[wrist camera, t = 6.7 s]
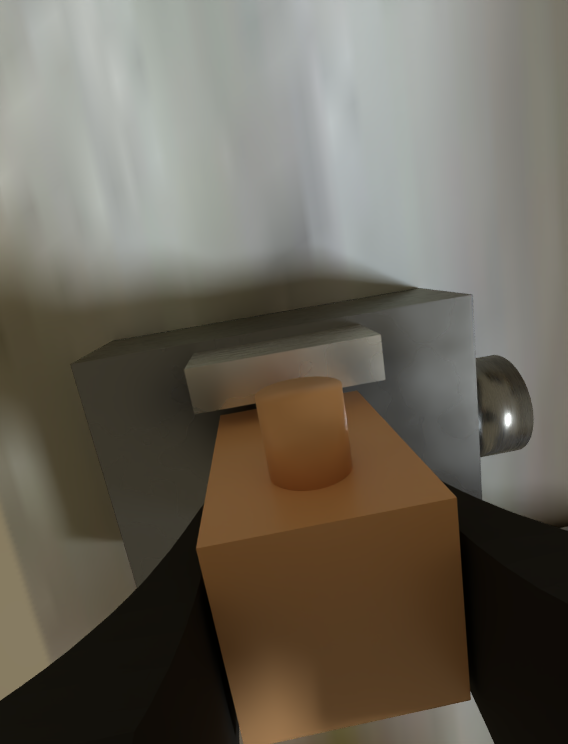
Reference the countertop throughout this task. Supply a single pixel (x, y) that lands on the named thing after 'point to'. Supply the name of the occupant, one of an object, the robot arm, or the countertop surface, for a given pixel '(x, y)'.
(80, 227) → the countertop surface
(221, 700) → the robot arm
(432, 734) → the countertop surface
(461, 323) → the grey plate with rails
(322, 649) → the tan single stud brick
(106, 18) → the countertop surface
